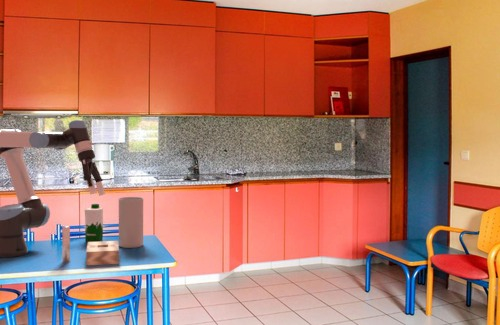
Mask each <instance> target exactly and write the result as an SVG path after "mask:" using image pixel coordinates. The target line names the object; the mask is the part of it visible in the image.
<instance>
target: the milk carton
mask: <svg viewBox="0 0 500 325" xmlns="http://www.w3.org/2000/svg"><path fill="white" fill-rule="evenodd" d="M84 219H85V220H84V230H85V232H84V234H85V235H84V236H85V237H84V239H85V240H84V241H85V243H88V242H100V241H104V240H103V239H104V236H103V235H104V207H100V203H99V204H98V203H92V204H91V207H88V208H85V209H84Z"/></svg>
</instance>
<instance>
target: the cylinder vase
mask: <svg viewBox="0 0 500 325" xmlns="http://www.w3.org/2000/svg"><path fill="white" fill-rule="evenodd" d="M143 245H144V197H140V196H138V197H137V196H127V197H126V196H125V197H120V198H118V247H119V248H124V249H136V248H140V247H143Z"/></svg>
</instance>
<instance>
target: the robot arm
mask: <svg viewBox="0 0 500 325" xmlns="http://www.w3.org/2000/svg"><path fill="white" fill-rule="evenodd" d="M73 145H74V148H75V151H76V154H77V158H78V161H79V162H81V167H82V174H83V181H84V182H86V184H87V188H88V191H89V193H90V195H93V194H94V195H95V194H96V193H97V192H98V196H103V195H105V194H106V193H105V189H104V186H103V178H102V176H101V174H100V172H99V170H98V167H97V164H96V162H95V161H93V160H94V159H95V158H96V155H95V151H94V150H93V149H94V148H93V142H92V140H91V139H90V135H89V132H88V128H87V126H86V123H85V120H83V119H75V120H72V121H69V123H68V129H66V130H64V131H21V130H20V129H18V128H12V127H0V158H2V159H4V161H5V165H6V169H7V171H8V173H9V177H10V180H11V183H12V186H13V189H14V192H15V195H16V198H17V201H18V202H17V203H13V204H6V205H3V206H0V258H14V257H20V256H24V255H27V254H28V252H29V250H28V246H27V243H26V241H25V238H24V237H25V236H24V230H29V229H35V228H36V229H38V228H40V227H43V226H45V225H46V224H48V222H49V220H50V217H51V216H50V215H51V213H50V212H51V211H50V208H49V206H48V205H47V204H45V203H43V202H42V200H41V198H40V197H38V196H37V195H36V192H35V190H34V189H35V188H34V186H33V183H32V180H31V177H30V174H29V171H28V169H27V164H26V162H25V159H24V156H23V153H24V151H25V148H30V149H31V148H33V149H54V150H56V151H62V150H66V149H67V148H69V147H71V146H73ZM93 179H94V180H93ZM94 181H95V183H94Z"/></svg>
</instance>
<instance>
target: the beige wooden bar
mask: <svg viewBox="0 0 500 325" xmlns="http://www.w3.org/2000/svg"><path fill="white" fill-rule="evenodd" d="M61 228H62V230H61V232H62V235H61V238H62V239H61V241H62V248H61V249H62V251H61V252H62V263H70V262H71V226H69V225H66V226H65V225H64V226H62V227H61Z"/></svg>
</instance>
